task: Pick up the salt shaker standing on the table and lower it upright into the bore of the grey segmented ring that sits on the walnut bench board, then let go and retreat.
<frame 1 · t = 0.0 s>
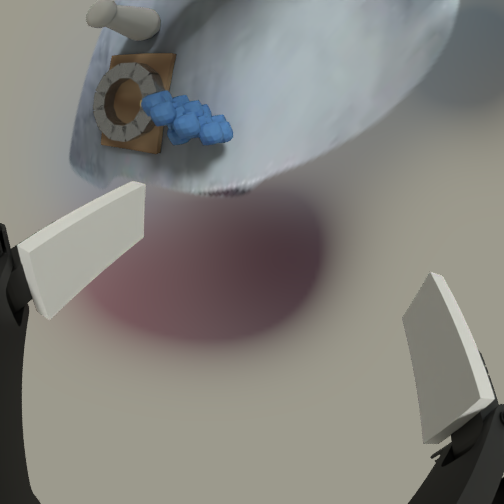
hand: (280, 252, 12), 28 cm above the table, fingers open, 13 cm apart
grey segmented ring: (131, 101, 36), resting on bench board
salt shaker: (151, 27, 30), on the table
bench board: (136, 100, 37), on the table
grapes: (204, 120, 37), on the table
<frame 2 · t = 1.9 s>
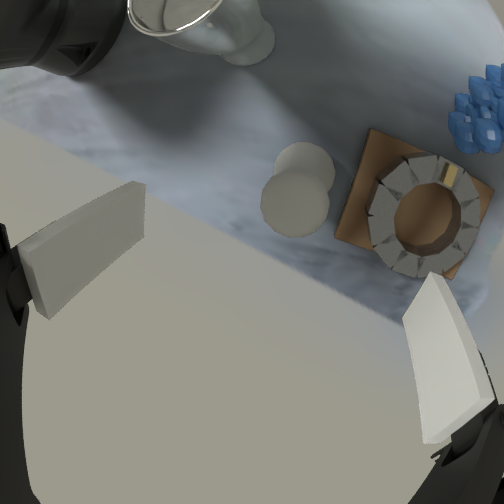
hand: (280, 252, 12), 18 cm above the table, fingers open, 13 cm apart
grey segmented ring: (421, 212, 25), resting on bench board
beer glass: (246, 40, 22), on the table
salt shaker: (306, 167, 27), on the table
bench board: (418, 208, 26), on the table
grapes: (465, 110, 19), on the table
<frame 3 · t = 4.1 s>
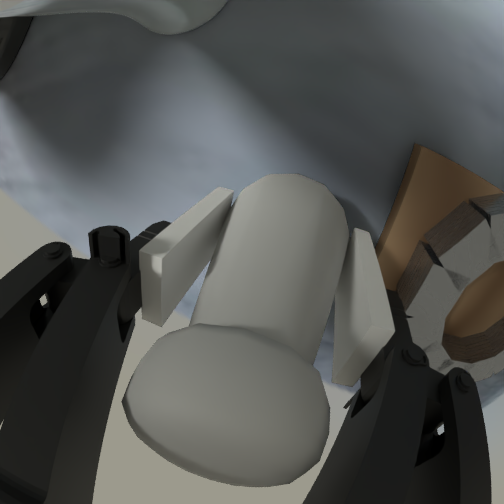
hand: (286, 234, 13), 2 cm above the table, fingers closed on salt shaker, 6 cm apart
grey segmented ring: (482, 291, 13), resting on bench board
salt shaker: (293, 215, 15), on the table, touching gripper
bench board: (475, 281, 14), on the table
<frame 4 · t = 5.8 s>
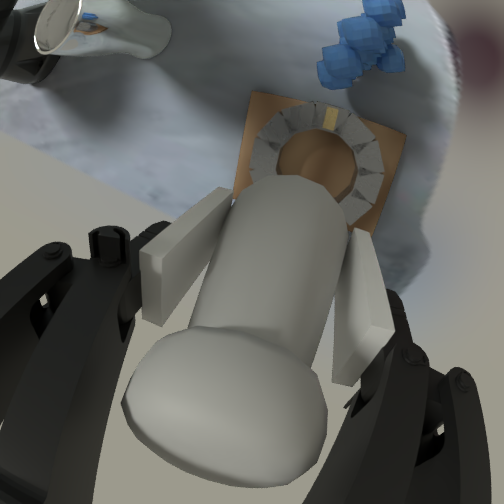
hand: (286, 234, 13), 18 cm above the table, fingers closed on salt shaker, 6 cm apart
grey segmented ring: (317, 164, 27), resting on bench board
beer glass: (151, 37, 24), on the table
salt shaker: (292, 216, 15), point 15 cm above the table, touching gripper
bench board: (317, 162, 28), on the table
grapes: (361, 58, 21), on the table
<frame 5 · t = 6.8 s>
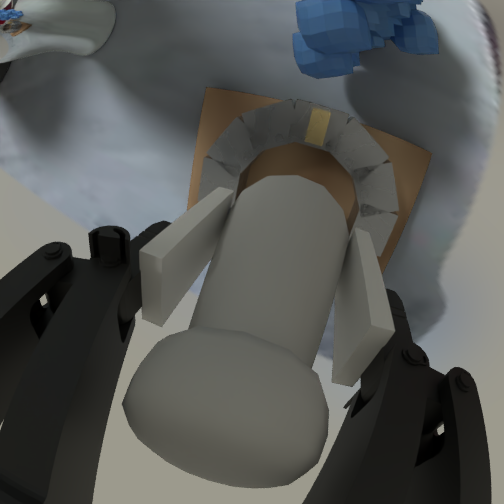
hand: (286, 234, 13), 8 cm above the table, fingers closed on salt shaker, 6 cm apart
grey segmented ring: (299, 194, 19), resting on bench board
beer glass: (94, 28, 16), on the table
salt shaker: (292, 216, 15), point 5 cm above the table, touching gripper
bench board: (300, 189, 20), on the table
grapes: (367, 38, 14), on the table
when the fingers open (5 cm above the table, at t = 7.6 s): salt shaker drops 1 cm, resting on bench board.
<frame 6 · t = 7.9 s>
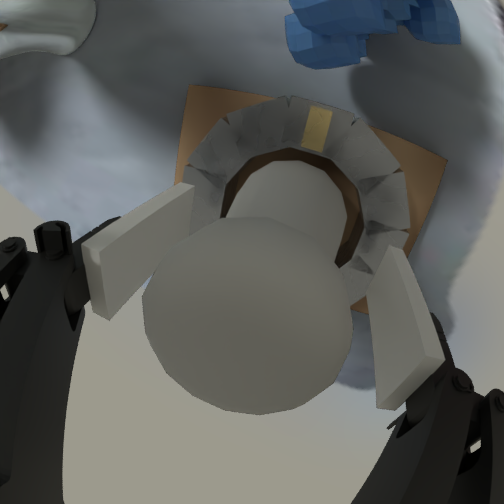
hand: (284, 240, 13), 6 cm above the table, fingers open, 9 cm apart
grey segmented ring: (295, 206, 17), resting on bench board
beer glass: (75, 25, 14), on the table
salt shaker: (293, 207, 17), point 1 cm above the table, touching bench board
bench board: (297, 200, 18), on the table
grapes: (373, 28, 11), on the table
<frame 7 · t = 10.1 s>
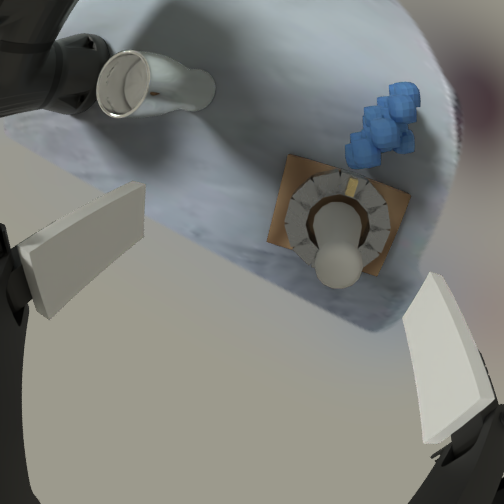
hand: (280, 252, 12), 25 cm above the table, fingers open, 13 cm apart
grey segmented ring: (337, 219, 34), resting on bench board
beer glass: (195, 90, 32), on the table
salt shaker: (337, 218, 34), point 1 cm above the table, touching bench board
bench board: (337, 215, 35), on the table
grapes: (379, 128, 29), on the table
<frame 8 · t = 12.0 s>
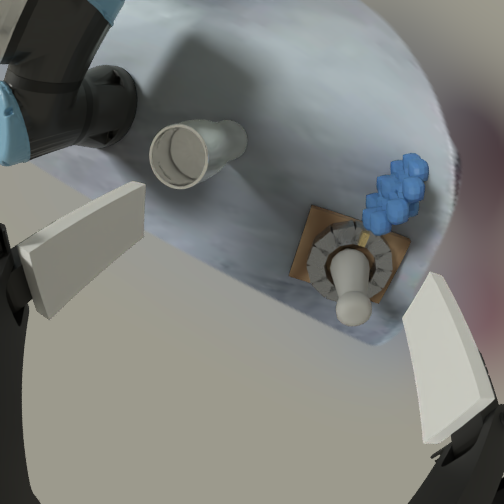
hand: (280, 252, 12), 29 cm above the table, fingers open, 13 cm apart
grey segmented ring: (349, 259, 41), resting on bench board
beer glass: (227, 140, 38), on the table
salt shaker: (348, 259, 41), point 1 cm above the table, touching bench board
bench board: (349, 256, 42), on the table
grapes: (389, 184, 35), on the table
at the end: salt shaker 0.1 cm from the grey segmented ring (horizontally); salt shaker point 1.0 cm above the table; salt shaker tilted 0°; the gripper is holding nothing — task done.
